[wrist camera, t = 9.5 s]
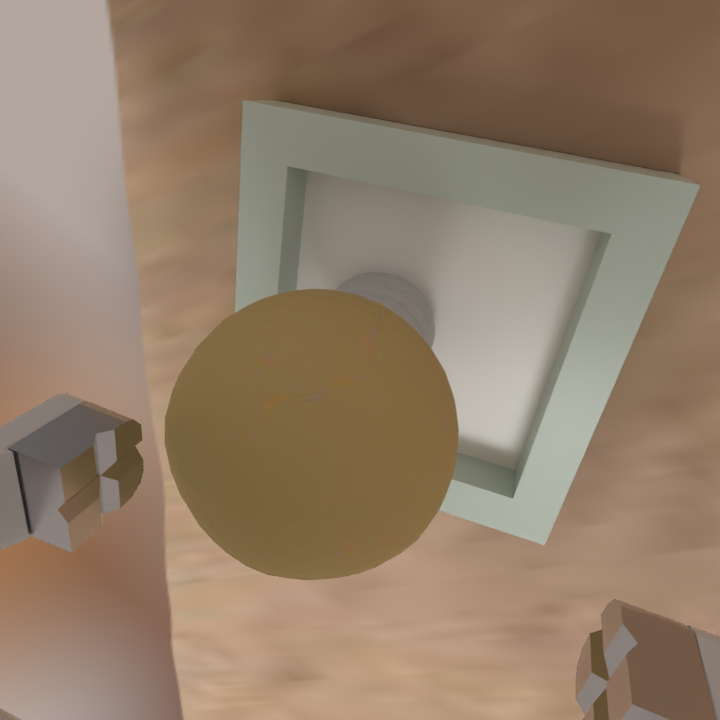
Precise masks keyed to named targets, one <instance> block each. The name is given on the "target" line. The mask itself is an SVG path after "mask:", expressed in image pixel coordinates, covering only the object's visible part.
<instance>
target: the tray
mask: <svg viewBox="0 0 720 720" xmlns="http://www.w3.org/2000/svg"><path fill="white" fill-rule="evenodd" d="M700 186H701V185H699V184H697V183H695V182H694V181H692V180H690V179H688V178H686V177H684V176H682V175H681V174H675V173H670V172H664V171H659V170H653V169H648V168H642V167H637V166H632V165H626V164H621V163H615V162H610V161H604V160H599V159H593V158H588V157H582V156H577V155H572V154H566V153H561V152H555V151H550V150H544V149H539V148H533V147H528V146H522V145H517V144H512V143H506V142H501V141H495V140H490V139H484V138H479V137H473V136H468V135H462V134H457V133H452V132H446V131H441V130H435V129H430V128H424V127H419V126H413V125H408V124H402V123H397V122H392V121H386V120H381V119H375V118H370V117H364V116H359V115H353V114H348V113H343V112H337V111H332V110H326V109H321V108H315V107H310V106H304V105H299V104H293V103H288V102H283V101H277V100H243V106H242V133H241V159H240V186H239V213H238V239H237V266H236V293H235V313H236V312H238V311H239V310H241V309H242V308H244V307H246V306H248V305H250V304H252V303H254V302H256V301H258V300H260V299H263V298H266V297H270V296H273V295H276V294H279V293H283V292H287V291H294V290H305V289H327V290H336V289H337V288H338V287H339V286H340V285H341V284H342V283H343V282H345V281H346V280H348V279H350V278H352V277H354V276H356V275H359V274H363V273H369V272H381V273H388V274H392V275H395V276H398V277H401V278H402V279H404V280H406V281H407V282H409V283H411V284H412V285H413V286H415V287H416V288H417V289H418V290H419V291H420V292H421V294H422V295H423V296H424V297H425V299H426V300H427V302H428V304H429V306H430V308H431V310H432V313H433V317H434V323H435V337H434V342H433V346H432V348H431V349H432V350H433V352H434V354H435V355H436V357H437V359H438V360H439V362H440V364H441V365H442V367H443V369H444V370H445V373H446V376H447V378H448V381H449V384H450V387H451V390H452V393H453V396H454V400H455V404H456V412H457V420H458V428H459V432H458V447H457V457H456V466H455V469H454V473H453V476H452V480H451V482H450V485H449V488H448V490H447V493H446V496H445V498H444V501H443V503H442V505H441V507H440V509H439V511H442V512H445V513H448V514H451V515H454V516H457V517H460V518H463V519H466V520H469V521H472V522H475V523H478V524H481V525H484V526H487V527H490V528H493V529H496V530H499V531H503V532H506V533H509V534H512V535H515V536H518V537H521V538H524V539H527V540H530V541H533V542H536V543H539V544H542V545H545V543H546V541H547V539H548V537H549V534H550V532H551V530H552V527H553V525H554V523H555V520H556V518H557V516H558V514H559V511H560V509H561V507H562V504H563V502H564V500H565V497H566V495H567V493H568V490H569V488H570V486H571V484H572V481H573V479H574V477H575V474H576V472H577V470H578V467H579V465H580V463H581V460H582V458H583V456H584V454H585V451H586V449H587V447H588V444H589V442H590V440H591V437H592V435H593V433H594V431H595V428H596V426H597V424H598V421H599V419H600V417H601V414H602V412H603V410H604V407H605V405H606V403H607V401H608V398H609V396H610V394H611V391H612V389H613V387H614V384H615V382H616V380H617V378H618V375H619V373H620V371H621V368H622V366H623V364H624V361H625V359H626V357H627V354H628V352H629V350H630V348H631V345H632V343H633V341H634V338H635V336H636V334H637V331H638V329H639V327H640V324H641V322H642V320H643V318H644V315H645V313H646V311H647V308H648V306H649V304H650V301H651V299H652V297H653V295H654V292H655V290H656V288H657V285H658V283H659V281H660V278H661V276H662V274H663V271H664V269H665V267H666V265H667V262H668V260H669V258H670V255H671V253H672V251H673V248H674V246H675V244H676V242H677V239H678V237H679V235H680V232H681V230H682V228H683V225H684V223H685V221H686V218H687V216H688V214H689V212H690V209H691V207H692V205H693V202H694V200H695V198H696V195H697V193H698V191H699V188H700Z"/></svg>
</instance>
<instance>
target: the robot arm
mask: <svg viewBox="0 0 720 720" xmlns="http://www.w3.org/2000/svg"><path fill="white" fill-rule="evenodd" d="M141 441H142V431H141V425H140V424H139V423H137V422H136V421H135V420H133V419H131V418H128V417H126V416H123V415H121V414H118V413H116V412H113V411H111V410H108V409H106V408H103V407H101V406H98V405H96V404H93V403H91V402H86V401H84V400H82V399H79V398H77V397H74V396H72V395H70V394H59V395H56V396H54V397H52V398H51V399H49V400H47V401H45V402H43V403H42V404H40V405H38V406H36V407H35V408H33V409H31V410H29V411H28V412H26V413H24V414H22V415H21V416H19V417H17V418H16V419H14V420H12V421H10V422H8V423H7V424H5V425H3V426H2V427H0V550H2V549H4V548H6V547H9V546H11V545H14V544H16V543H18V542H21V541H23V540H25V539H28V538H29V535H31V536H33V537H36V538H38V539H40V540H43V541H45V542H48V543H50V544H53V545H55V546H58V547H60V548H62V549H65V550H67V551H70V552H73V551H74V550H75V549H76V548H77V547H78V546H79V545H81V544H82V543H83V542H84V541H85V540H86V539H87V538H88V537H89V536H90V535H91V534H93V533H94V532H95V531H96V530H97V529H98V528H99V527H100V526H101V525H102V519H103V514H104V513H107V512H110V511H113V510H116V509H119V508H121V507H122V506H123V505H124V504H125V503H126V502H127V501H128V500H129V499H130V498H131V497H132V496H133V494H134V492H135V490H136V489H137V487H138V486H139V484H140V482H141V478H142V474H143V458H142V457H141V455H140V454H139V452H138V450H137V449H136V446H137V445H138V444H139V443H140V442H141ZM601 620H602V630H600V631H597V632H594V633H591V634H589V636H588V638H587V640H586V642H585V644H584V646H583V648H582V651H581V654H580V658H579V661H578V665H577V673H576V700H577V701H578V703H579V705H580V707H581V708H582V710H583V712H584V714H585V717H584V718H583V720H720V637H719V636H716V635H714V634H711V633H708V632H705V631H702V630H700V629H697V628H694V627H691V626H686V625H684V624H682V623H680V622H677V621H674V620H671V619H669V618H666V617H663V616H660V615H658V614H655V613H652V612H649V611H647V610H644V609H641V608H638V607H636V606H633V605H630V604H627V603H625V602H622V601H619V600H616V599H614V600H612V601H611V602H609V603H608V604H607V606H606V608H605V609H604V611H603V613H602V614H601ZM0 720H21V719H19V718H17V717H16V716H14V715H12V714H10V713H8V712H6V711H4V710H3V709H1V708H0Z"/></svg>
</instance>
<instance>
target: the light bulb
mask: <svg viewBox="0 0 720 720" xmlns="http://www.w3.org/2000/svg"><path fill="white" fill-rule="evenodd" d="M434 337H435V323H434V317H433V313H432V310H431V308H430V306H429V304H428V302H427V300H426V299H425V297H424V296H423V295H422V294H421V292H420V291H419V290H418V289H417V288H416V287H415V286H413V285H412V284H411V283H409V282H407V281H406V280H404V279H402V278H401V277H398V276H395V275H392V274H388V273H381V272H369V273H363V274H359V275H356V276H354V277H352V278H350V279H348V280H346V281H345V282H343V283H342V284H341V285H340V286H339V287H338V288H337V289H336V290H327V289H305V290H294V291H287V292H283V293H279V294H276V295H273V296H270V297H266V298H263V299H260V300H258V301H256V302H254V303H252V304H250V305H248V306H246V307H244V308H242V309H241V310H239V311H238V312H236V313H235V314H233V315H232V316H230V317H228V318H227V319H225V320H224V321H223V322H222V323H221V324H220V325H219V326H218V327H216V328H215V329H214V330H213V331H212V332H211V333H210V334H209V335H208V336H207V337H206V338H205V339H204V340H203V341H202V343H201V344H200V345H199V346H198V347H197V348H196V350H195V351H194V353H193V354H192V356H191V357H190V359H189V360H188V362H187V364H186V365H185V367H184V368H183V370H182V372H181V373H180V375H179V377H178V379H177V382H176V384H175V386H174V388H173V391H172V395H171V398H170V402H169V406H168V410H167V413H166V417H165V446H166V451H167V455H168V460H169V464H170V469H171V472H172V475H173V477H174V480H175V482H176V485H177V487H178V490H179V492H180V495H181V496H182V498H183V500H184V501H185V503H186V504H187V506H188V508H189V509H190V511H191V513H192V514H193V516H194V517H195V519H196V521H197V522H198V524H199V525H200V527H201V528H202V529H203V530H204V531H205V532H206V533H207V534H208V536H209V537H210V538H211V539H212V540H213V541H214V542H215V543H216V544H218V545H219V546H220V547H221V548H222V549H223V550H224V551H225V552H226V553H228V554H229V555H231V556H232V557H234V558H235V559H237V560H238V561H239V562H241V563H242V564H244V565H245V566H247V567H250V568H252V569H255V570H257V571H260V572H262V573H265V574H267V575H272V576H278V577H284V578H291V579H301V580H317V579H330V578H340V577H344V576H349V575H353V574H358V573H361V572H364V571H366V570H369V569H372V568H375V567H377V566H379V565H380V564H382V563H384V562H386V561H388V560H389V559H391V558H393V557H395V556H396V555H398V554H400V553H402V552H403V551H404V550H405V549H406V548H408V547H409V546H410V545H411V544H413V543H414V542H415V541H416V540H417V539H418V538H419V537H420V535H421V534H422V533H423V531H424V530H425V529H426V528H427V526H428V525H429V523H430V522H431V521H432V519H433V518H434V516H435V515H436V513H437V512H438V510H439V509H440V507H441V505H442V503H443V501H444V498H445V496H446V493H447V490H448V488H449V485H450V482H451V480H452V476H453V473H454V469H455V466H456V457H457V447H458V432H459V428H458V420H457V412H456V404H455V400H454V396H453V393H452V390H451V387H450V384H449V381H448V378H447V376H446V373H445V370H444V369H443V367H442V365H441V364H440V362H439V360H438V359H437V357H436V355H435V354H434V352H433V350H432V349H431V348H432V346H433V342H434Z"/></svg>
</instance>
